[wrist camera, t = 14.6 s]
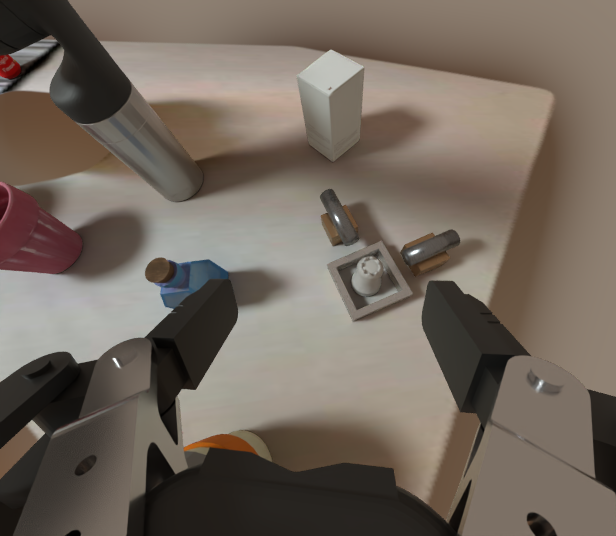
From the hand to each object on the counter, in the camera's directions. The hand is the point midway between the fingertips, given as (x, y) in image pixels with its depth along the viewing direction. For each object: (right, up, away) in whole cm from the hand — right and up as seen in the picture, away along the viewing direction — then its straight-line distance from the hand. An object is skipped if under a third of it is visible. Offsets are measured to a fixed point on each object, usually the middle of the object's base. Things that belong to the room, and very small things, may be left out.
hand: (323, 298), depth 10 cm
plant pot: (-50, +4, +37) cm, 62 cm away
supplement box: (+4, +26, +36) cm, 45 cm away
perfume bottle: (-17, -3, +30) cm, 34 cm away
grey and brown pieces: (+10, +5, +28) cm, 30 cm away
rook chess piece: (+8, -1, +27) cm, 28 cm away
